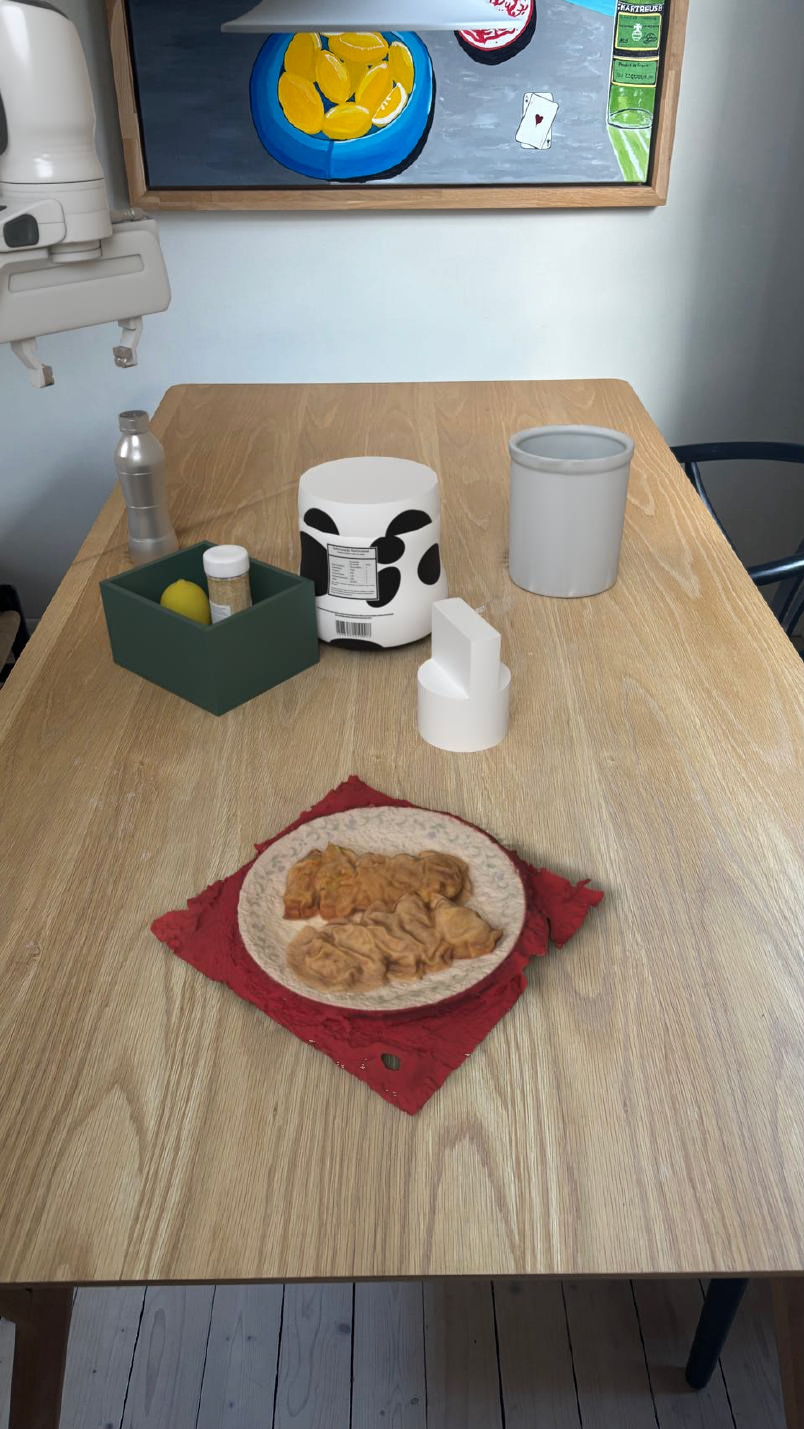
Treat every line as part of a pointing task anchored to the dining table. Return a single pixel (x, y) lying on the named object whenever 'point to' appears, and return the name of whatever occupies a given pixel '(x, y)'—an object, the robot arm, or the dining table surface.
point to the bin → (211, 631)
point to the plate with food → (379, 934)
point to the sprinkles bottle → (227, 580)
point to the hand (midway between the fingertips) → (86, 376)
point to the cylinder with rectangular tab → (463, 682)
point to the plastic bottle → (144, 489)
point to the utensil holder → (567, 508)
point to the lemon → (187, 601)
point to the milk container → (372, 550)
